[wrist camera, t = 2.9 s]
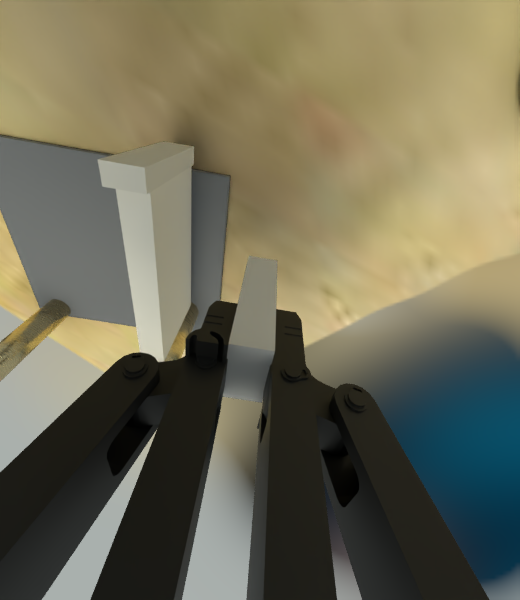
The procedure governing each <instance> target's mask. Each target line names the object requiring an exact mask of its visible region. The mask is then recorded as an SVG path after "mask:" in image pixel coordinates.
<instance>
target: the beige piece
mask: <svg viewBox="0 0 520 600" xmlns="http://www.w3.org/2000/svg"><path fill="white" fill-rule="evenodd" d="M98 165H99V171H100V176H101V182H102V187H107V188H113V189H116V195H117V202H118V208H119V215H120V222H121V228H122V235H123V241H124V248H125V255H126V261H127V268H128V275H129V281H130V288H131V295H132V301H133V308H134V315H135V321H136V328H137V335H138V341H139V348H140V352H142V353H147V354H150V355H152V356H154V357H155V358H156V360H157V361H158V362H164V361H165V359H166V357H167V355H168V353H169V351H170V348H171V346H172V344H173V342H174V340H175V338H176V336H177V333H178V331H179V329H180V327H181V325H182V323H183V321H184V318H185V316H186V314H187V312H188V310H189V308H190V306H191V171H192V166H193V165H194V146H188V145H183V144H177V143H172V142H166V141H163V142H159V143H156V144H152V145H148V146H145V147H141V148H137V149H134V150H130V151H126V152H123V153H119V154H115V155H112V156H108V157H104V158H101V159H98Z"/></svg>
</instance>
